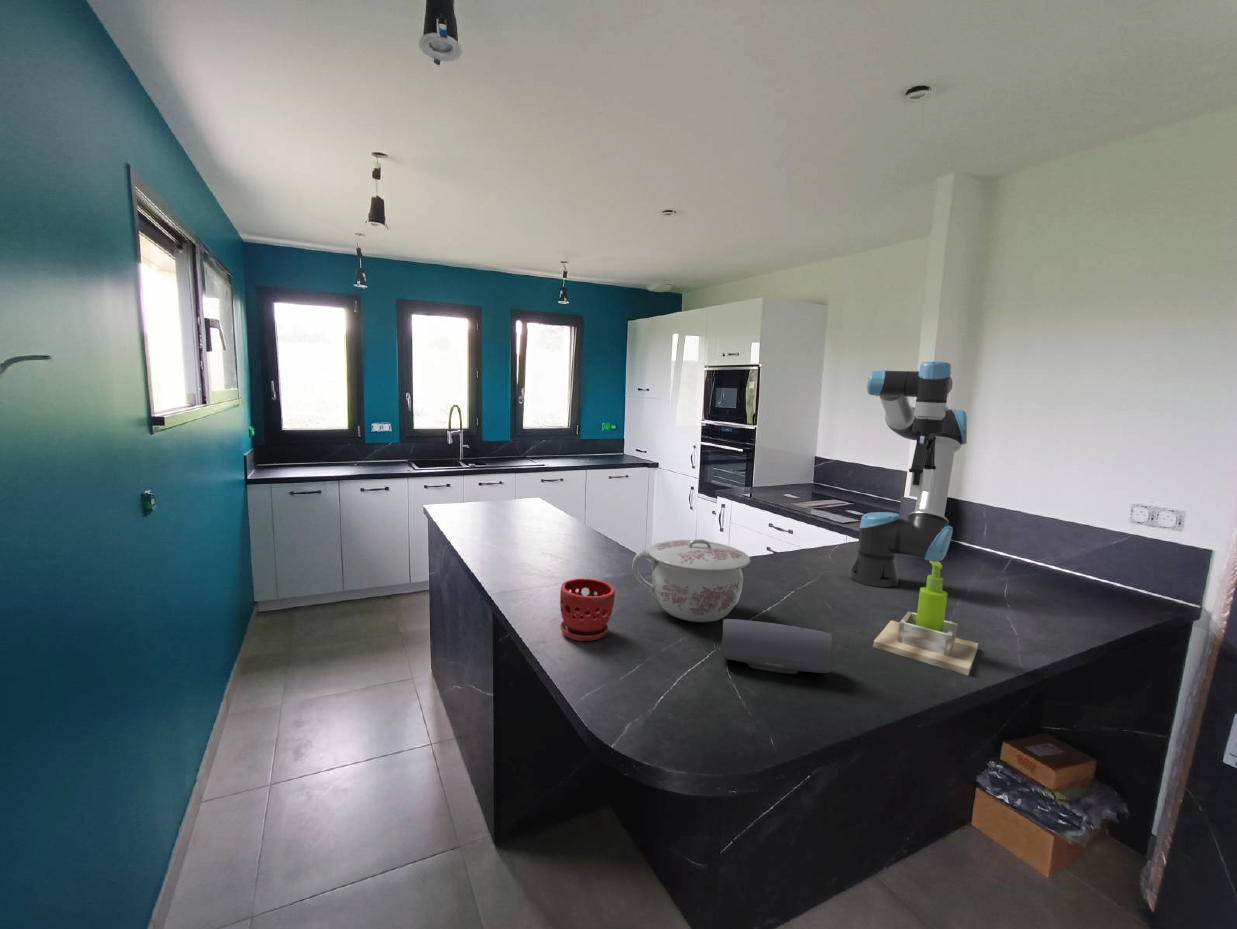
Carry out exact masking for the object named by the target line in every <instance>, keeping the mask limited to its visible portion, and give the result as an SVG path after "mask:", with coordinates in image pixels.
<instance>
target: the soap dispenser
mask: <svg viewBox="0 0 1237 929" xmlns="http://www.w3.org/2000/svg"><path fill="white" fill-rule="evenodd" d="M928 561H929V563H930V564H931V567H932V569H931V574H928V575H927V578H926V584H925V586H923V587H920V588H919V594H918V602H917V609H916V610H917V611H916V613H917V617H916V625H917V626H921V627H925V628H928V629H932V630H936V631H940V632H943V626H944V620H945V618H946V611H947V610H946V609H947V601H948V592H947V591H945V590H943V584H944V577H942V576H941V569H943V564H942V563H941V562H940V561H934V560H928Z"/></svg>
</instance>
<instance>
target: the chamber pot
mask: <svg viewBox="0 0 1237 929" xmlns="http://www.w3.org/2000/svg"><path fill="white" fill-rule="evenodd" d="M642 559H646V560H648V561H650V563H651V564H650V570H651V581H652V583H650V582H649V581H647V580H646V579H644V577H643V576H642V575H641V573H640V572H639V567H638V566H639V563H640V562H639V561H640V560H642ZM750 564H751V557H750V556H749V555H748V554H746V552H745V551H742V550H740V549H738V548H735V547H732V546H729V545H726V544H722V543H718V542H714V541H708V540H706V539H703V538H702V539H701V538H699V539H676V540H669V541H667V540H666V541H661V542H658V543H655V544H653V545H651V546H650V547H649V549H648V550H647V551H646V550H640V551H638V552H637V553H636V554H635V556H634V558H633V559H632V565H631V570H632V574H633V576H634V577H635V578H636V580H637V582H638V583H639V584H641V585H642V586H644V587H645V588H646V589H648V590H649V592H650V593H651V594H652V596H654V598H655V600H656V601H658V602H659V604H660V605H661V607H662V609H663V610H664V611H665V612H666V613H667V614H668V615H669V616H672V617H674V618H677V619H679V620H683V621H687V622H692V623H709V622H717V621H719V620H721V619H723V620H724V619H725V618H726V617H727V616H728V615H729V613H730V612H731V611H732V610H733V609H734V608H735V606H736V605H737V603H738V602H739V600H740V597H741V594H742V590H743V587H744V586H743V585H744V584H743V583H744V573H743V570H742V569H743V568H745V567H747V566H748V565H750Z"/></svg>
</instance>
